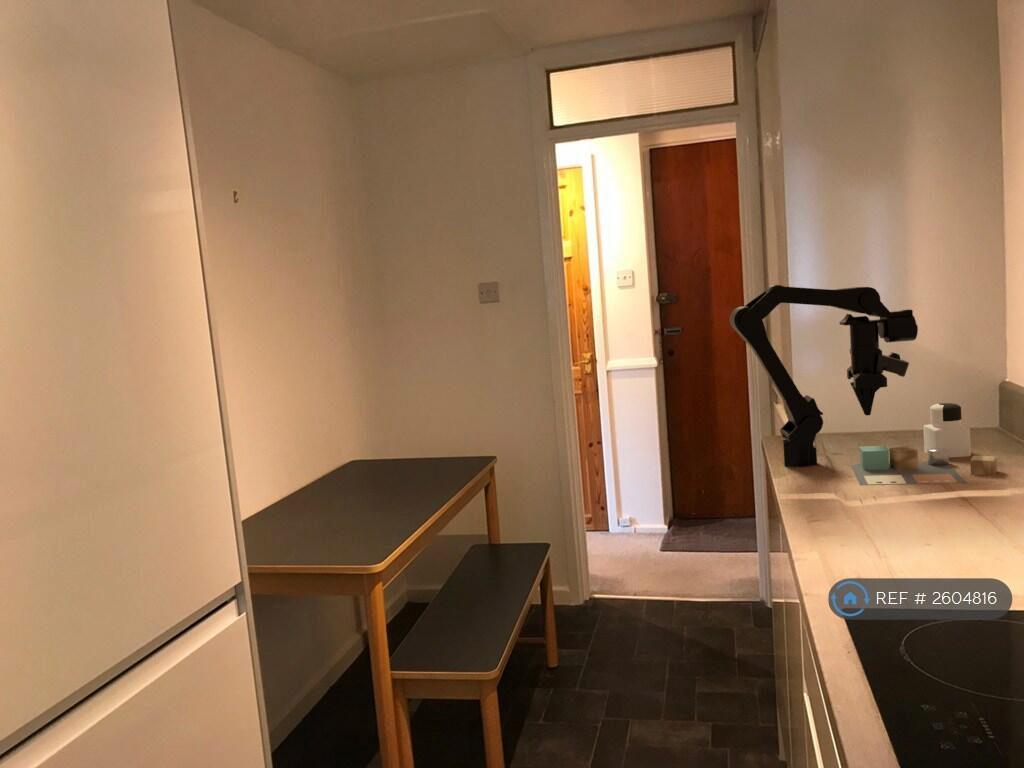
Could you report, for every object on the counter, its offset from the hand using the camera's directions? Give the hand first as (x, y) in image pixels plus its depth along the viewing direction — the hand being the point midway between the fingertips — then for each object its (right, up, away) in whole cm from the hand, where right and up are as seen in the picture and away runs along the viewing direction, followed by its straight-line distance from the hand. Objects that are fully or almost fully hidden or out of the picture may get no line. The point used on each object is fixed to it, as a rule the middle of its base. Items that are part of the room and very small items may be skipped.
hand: (867, 415), depth 184 cm
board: (+2, -12, -14) cm, 18 cm away
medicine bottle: (+17, -10, -1) cm, 20 cm away
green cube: (-1, -11, -7) cm, 13 cm away
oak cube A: (+4, -11, -9) cm, 15 cm away
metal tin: (+11, -10, -9) cm, 17 cm away
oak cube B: (+13, -10, -18) cm, 24 cm away
